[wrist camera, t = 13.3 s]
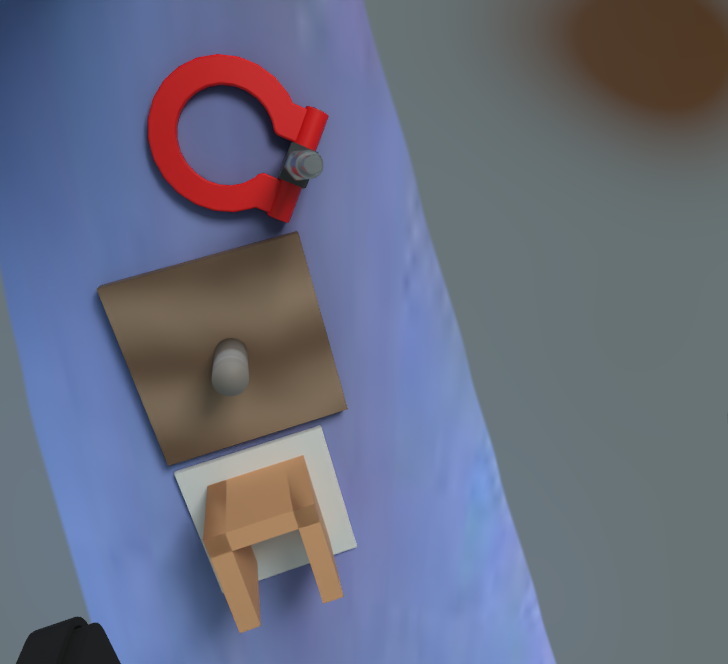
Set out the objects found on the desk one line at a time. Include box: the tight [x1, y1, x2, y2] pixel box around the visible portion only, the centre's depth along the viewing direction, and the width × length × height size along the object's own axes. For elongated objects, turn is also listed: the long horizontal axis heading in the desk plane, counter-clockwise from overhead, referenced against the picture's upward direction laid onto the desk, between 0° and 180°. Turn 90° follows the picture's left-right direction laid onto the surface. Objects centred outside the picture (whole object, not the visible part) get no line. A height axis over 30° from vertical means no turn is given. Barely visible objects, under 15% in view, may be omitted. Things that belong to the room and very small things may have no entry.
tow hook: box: [148, 54, 328, 223], centre depth 29 cm, size 8×13×9 cm
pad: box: [174, 425, 357, 593], centre depth 42 cm, size 10×10×1 cm
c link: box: [203, 455, 344, 633], centre depth 39 cm, size 7×7×6 cm
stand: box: [97, 231, 348, 466], centre depth 35 cm, size 12×12×6 cm
